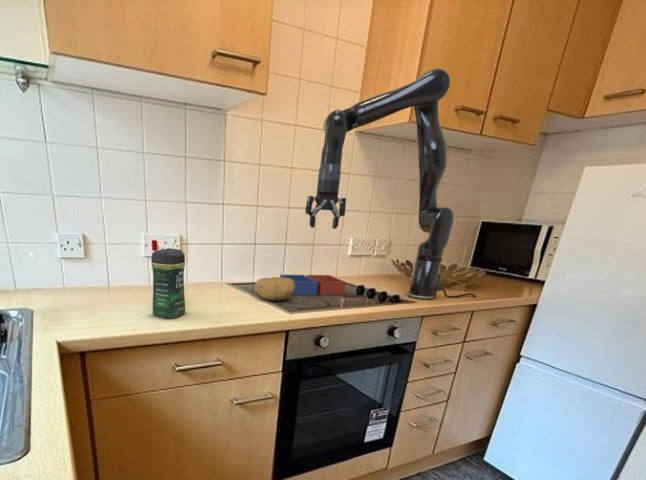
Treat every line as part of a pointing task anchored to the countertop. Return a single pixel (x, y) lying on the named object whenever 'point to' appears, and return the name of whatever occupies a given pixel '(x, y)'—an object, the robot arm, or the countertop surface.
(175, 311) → the coffee jar
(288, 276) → the blue bin
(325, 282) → the red bin
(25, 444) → the countertop surface
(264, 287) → the potato
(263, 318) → the countertop surface
